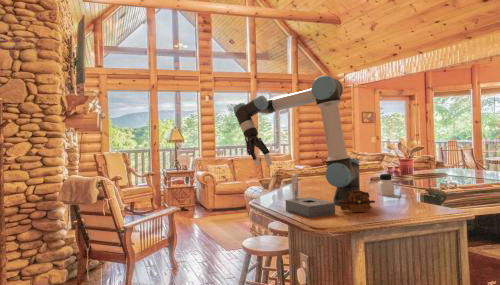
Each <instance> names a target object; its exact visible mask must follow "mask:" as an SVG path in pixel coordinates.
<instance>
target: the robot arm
mask: <svg viewBox="0 0 500 285" xmlns="http://www.w3.org/2000/svg"><path fill="white" fill-rule="evenodd" d="M343 92H344V88H343V85H342V83H341V81H340V80H338V79H337V78H335V77H332V76H330V75H320V76H318V77H316V78H315V79H314V80H313V82H312V84H311V88H308V89H305V90H301V91H297V92H294V93H293V92H292V93H289V94H286V95H285V94H284V95H281V96H277V97H273V98H270V99H267V97H266V96H264V95H262V94H260V95H258V96H255V98H253V99H251V101H249V102H247V103H245V102H240V103H238V104H236V105H235V106H233V108H232V109H233V112H234V116H235V118H236V120H237V122H238V124H239V127H240V130H241V131H242V134H243V136H244V141H245V147H246V152H247V154H248V156H251V159H252V160H253V162H254V165H255V167H259V166H260V165H261V161H260V159H259V157H258V154H257V152H256V150H255V149H256V148H257V149H259V150H260V152H261V153H262V155H263V157H264V159H265V162H266V165H267V166H268V167H270V166H271V165H273V161H272V159H271V156H270V150H269V149H268V148H267V145H266V144H265V143H264V141H263V139H262V138H261V137H258V134H259V132H258V130H257V127H256V125H255V122H254V120H253V116H255V115H257V114H259V113H260V114H266V115H267V114H270V115H271V114H273V113H275V112H279V111H282V110H283V111H284V110H287V109H292V108H296V107H301V106H306V105H310V104H314V103H315V105H316V107H318V108H319V109H320V112H321V119H322V120H321V121H322V125H323V133H324V138H325V143H326V144H325V146H326V150H327V151H326V152H327V156H328V157H327V158H326V160H325V162H326V170H325V180H326V181H327V182H328V183H329V185H331V186H333V187H335V188H336V189H335V192H334V196H333V201H332V203H335V205H339V206H340V204H338V202H339V201H341V200H347V198H346V193H347V192H351V191H354V190H359V191H362V190H361V187H360V161H359V159H357V158H351V156H350V155H348V154H347V151H346V144H345V138H344V132H343V126H342V121H341V120H342V119H341V115H340V109H339V104H341V100H342V99H341V97H342V95H343Z"/></svg>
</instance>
